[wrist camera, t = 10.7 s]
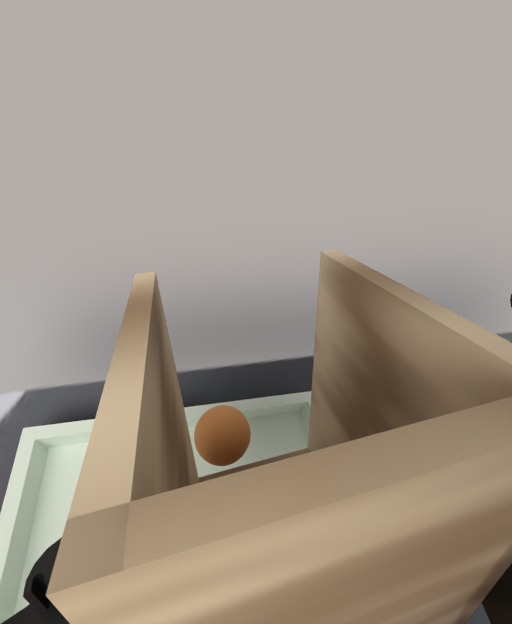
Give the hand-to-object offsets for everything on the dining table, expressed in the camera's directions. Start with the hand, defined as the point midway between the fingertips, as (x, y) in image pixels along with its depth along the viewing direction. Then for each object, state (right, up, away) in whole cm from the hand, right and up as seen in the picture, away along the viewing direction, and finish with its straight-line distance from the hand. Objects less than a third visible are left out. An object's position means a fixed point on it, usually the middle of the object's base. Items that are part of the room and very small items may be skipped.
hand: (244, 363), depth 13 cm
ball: (-1, -4, +3) cm, 5 cm away
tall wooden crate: (+2, -8, -1) cm, 9 cm away
